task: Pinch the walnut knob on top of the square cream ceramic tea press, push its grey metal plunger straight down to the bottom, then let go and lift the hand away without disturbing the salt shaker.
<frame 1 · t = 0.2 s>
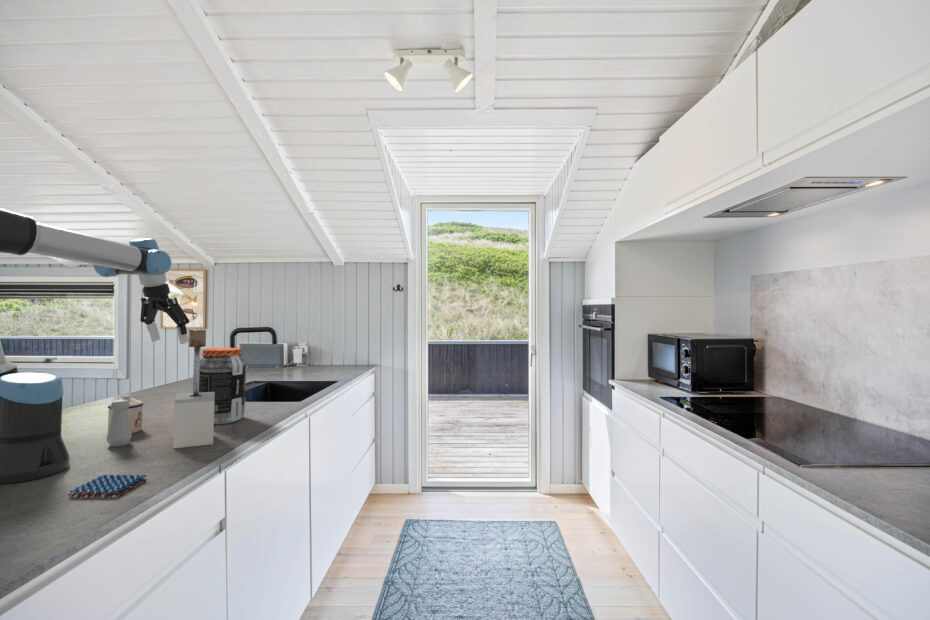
hand: (170, 341, 157), 28 cm above the countertop, tool tilted 20°, fingers open, 13 cm apart
woven mat: (108, 492, 99), on the countertop
salt shaker: (118, 445, 129), on the countertop
supplement tub: (220, 420, 159), on the countertop
teacup with lid: (125, 430, 143), on the countertop
plunger: (196, 369, 134), point 22 cm above the countertop, slide at 8.0 cm
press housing: (194, 441, 134), on the countertop
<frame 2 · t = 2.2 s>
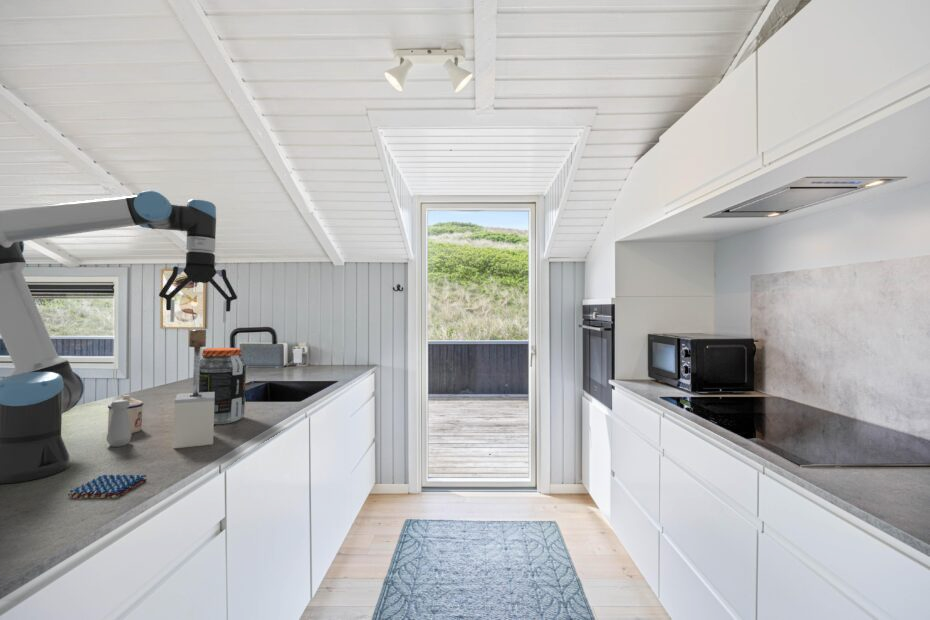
hand: (198, 322, 134), 36 cm above the countertop, tool pointing down, fingers open, 13 cm apart
nothing on the countertop moved.
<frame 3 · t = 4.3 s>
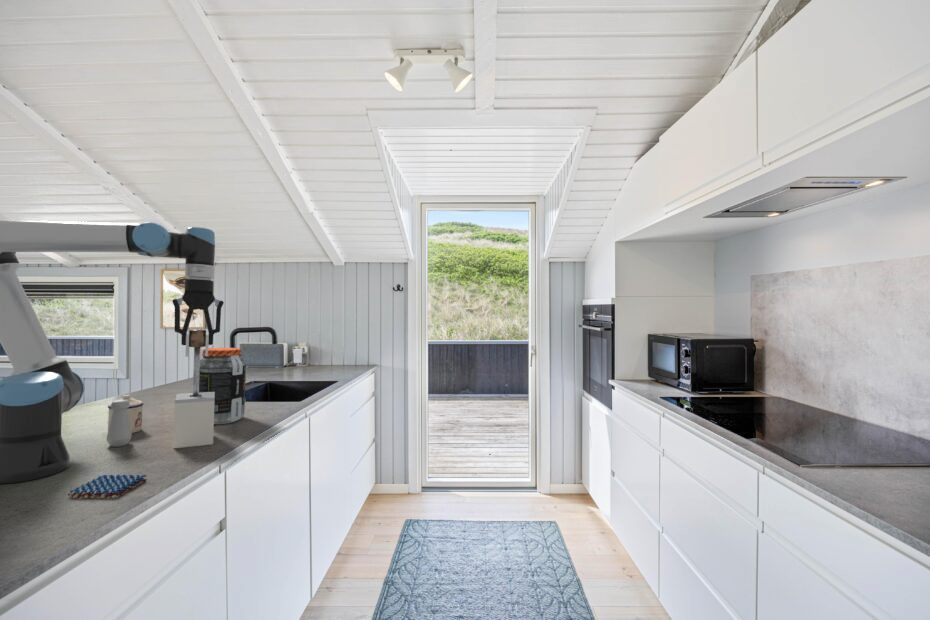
hand: (197, 355, 134), 26 cm above the countertop, tool pointing down, fingers closed on plunger, 4 cm apart
plunger: (196, 369, 134), point 22 cm above the countertop, slide at 8.0 cm, touching gripper
everything else where it was.
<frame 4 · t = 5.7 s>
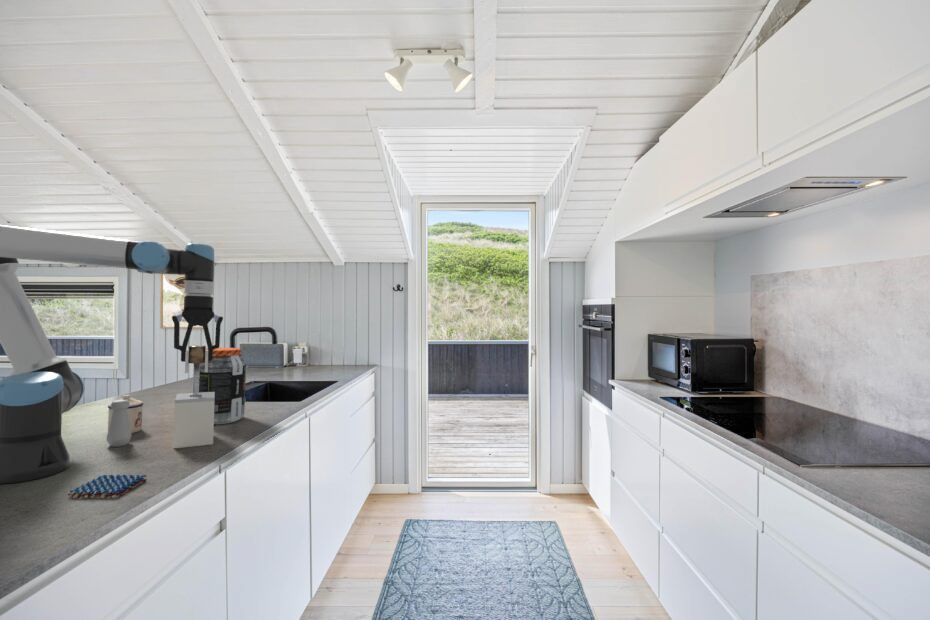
hand: (196, 371, 134), 21 cm above the countertop, tool pointing down, fingers closed on plunger, 4 cm apart
plunger: (196, 385, 134), point 17 cm above the countertop, slide at 3.1 cm, touching gripper
everything else where it was.
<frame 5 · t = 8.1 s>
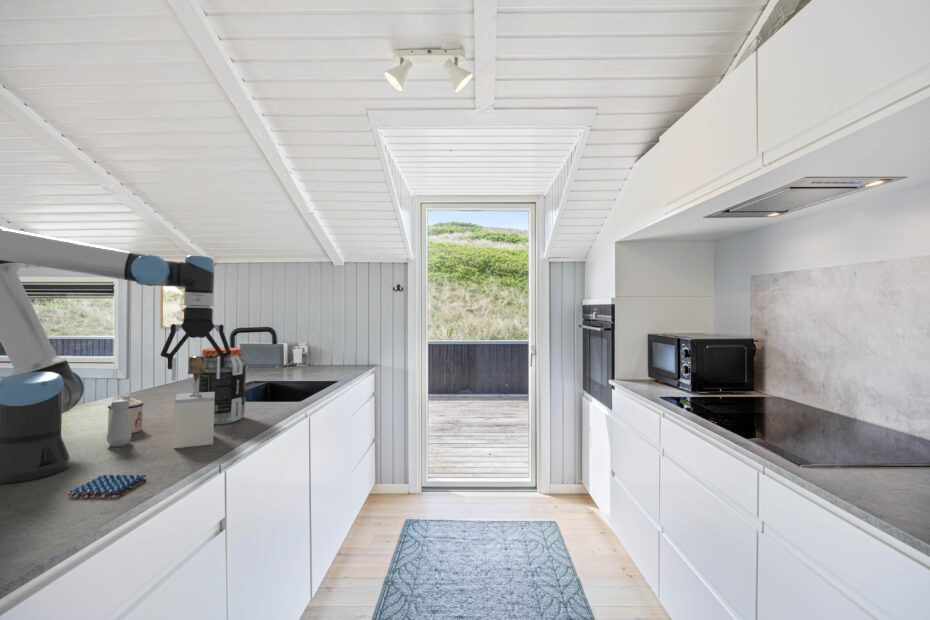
hand: (196, 379, 134), 19 cm above the countertop, tool pointing down, fingers open, 11 cm apart
plunger: (195, 396, 134), point 14 cm above the countertop, slide at -0.1 cm
everything else where it was.
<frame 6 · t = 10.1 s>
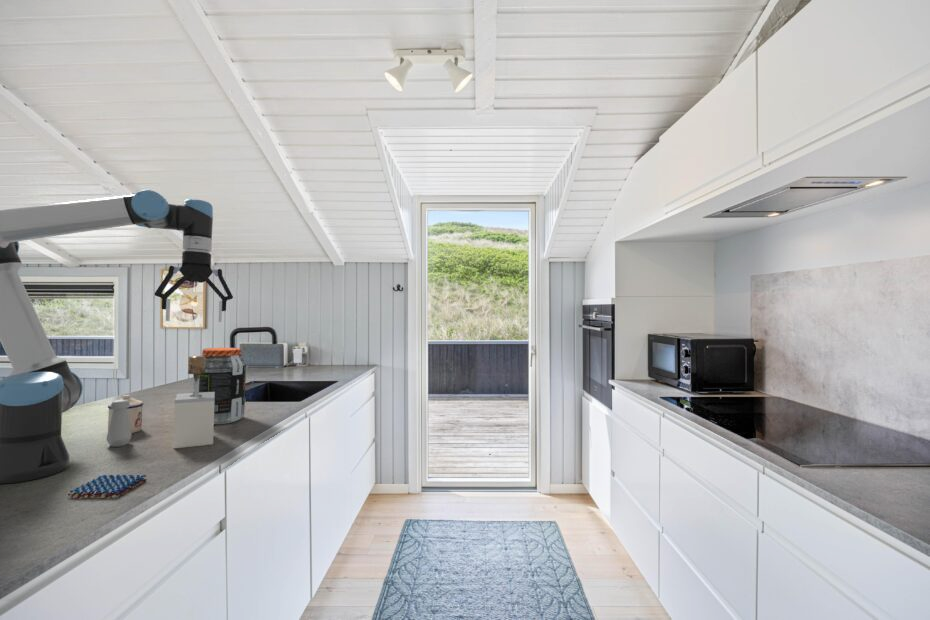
hand: (194, 321, 134), 37 cm above the countertop, tool pointing down, fingers open, 13 cm apart
nothing on the countertop moved.
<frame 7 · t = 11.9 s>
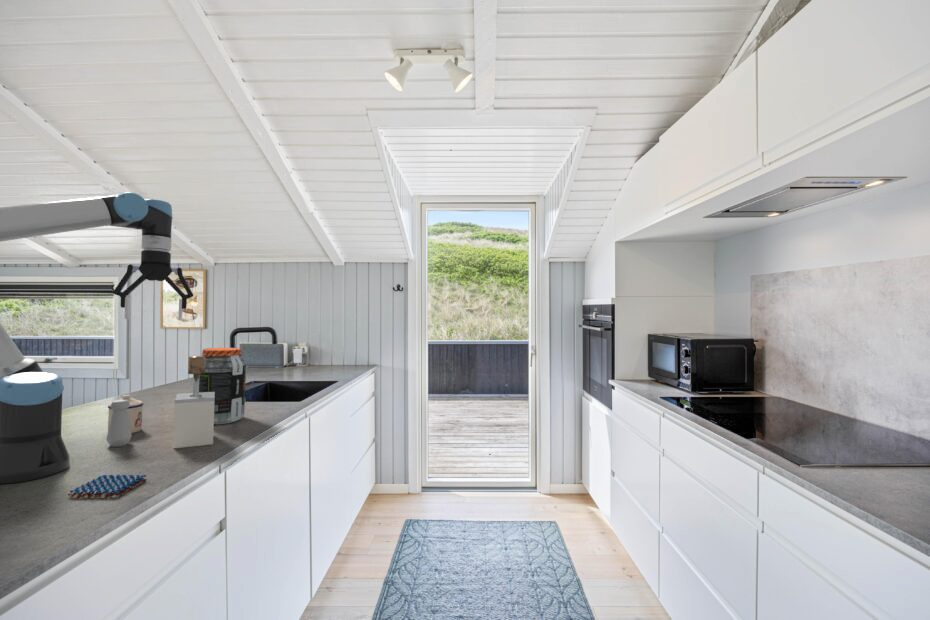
hand: (154, 319, 136), 37 cm above the countertop, tool pointing down, fingers open, 13 cm apart
nothing on the countertop moved.
at the end: plunger slide at -0.1 cm; the gripper is holding nothing; salt shaker moved 0.2 cm from its start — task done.
